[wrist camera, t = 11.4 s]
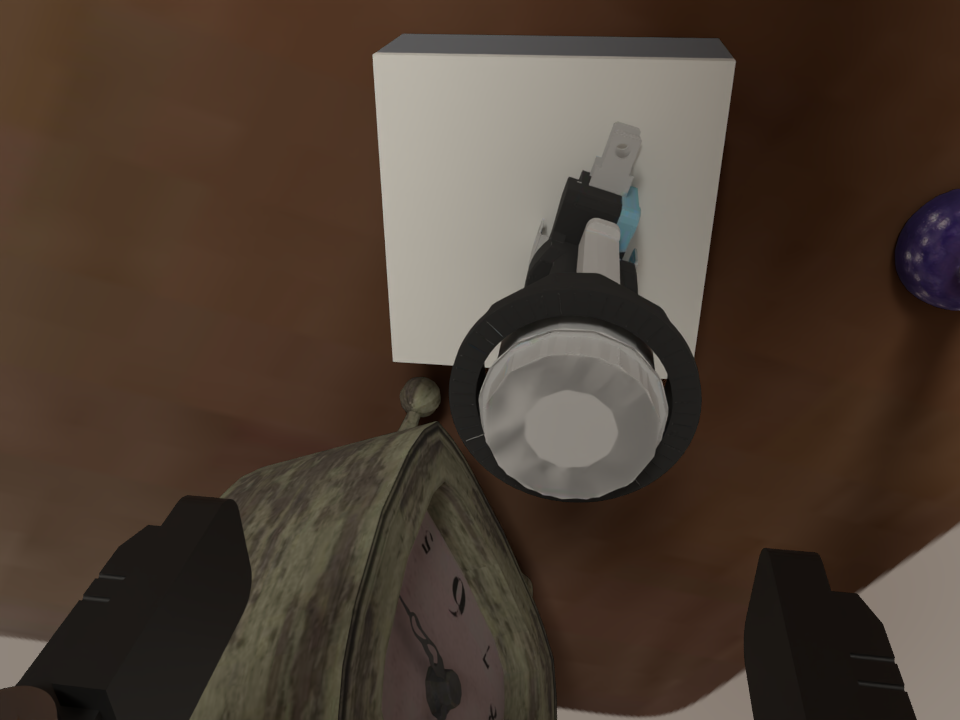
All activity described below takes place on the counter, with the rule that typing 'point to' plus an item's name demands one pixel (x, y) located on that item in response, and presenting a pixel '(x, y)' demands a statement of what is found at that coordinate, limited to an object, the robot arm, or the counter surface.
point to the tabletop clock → (381, 590)
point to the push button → (579, 356)
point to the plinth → (538, 167)
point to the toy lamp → (932, 252)
